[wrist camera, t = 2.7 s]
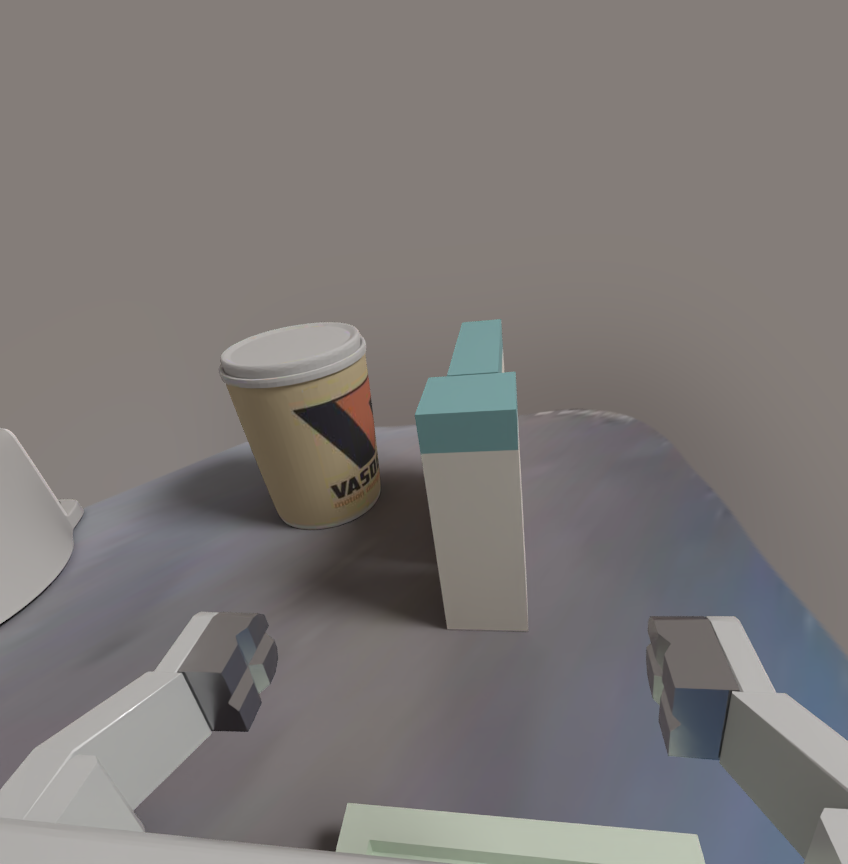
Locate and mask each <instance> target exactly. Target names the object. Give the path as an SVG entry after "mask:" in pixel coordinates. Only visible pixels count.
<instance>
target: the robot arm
mask: <svg viewBox="0 0 848 864" xmlns="http://www.w3.org/2000/svg"><path fill="white" fill-rule="evenodd" d="M83 513H84V510H83V508H82V507H81V505H80V504H79V502H78V501H77V500H74V499H57V498H56V497H55V495H54V493H53V492H52V491H51V489H50V487H49V486H48V484H47V483H46V481H45V480H44V478H43V477H42V475H41V474H40V472H39V471H38V469H37V468H36V466H35V465H34V463H33V462H32V460H31V458H30V457H29V455H28V454H27V452H26V451H25V450H24V448H23V446H22V445H21V443H20V442H19V441H18V440H17V438H16V436H15V435H14V434H13V433H12V432H11V431H9V430H8V429H2V428H0V624H1V623H2V622H4V621H5V620H7V619H8V618H10V617H11V616H12V615H14V614H15V613H17V612H18V611H19V610H21V609H22V608H23V607H24V606H26V605H27V604H28V603H29V602H31V601H32V600H33V599H34V598H35V597H37V596H38V595H39V594H40V593H41V592H42V591H43V590H44V589H45V588H46V587H47V586H48V585H49V584H50V583H51V582H52V581H53V580H54V579H55V578H56V577H57V576H58V574H59V573H60V572H61V571H62V569H63V568H64V566H65V565H66V563H67V562H68V560H69V558H70V556H71V553H72V550H73V545H74V542H73V529H74V527H75V526H76V525H77V523H78V522H79V520H80V519H81V517H82V515H83ZM268 626H269V625H268V622H267V620H266V618H265V615H263V614H258V613H231V612H199V613H198V614H196V615H194V616H193V617H192V619H191V620H190V621H189V623H188V624H187V626H186V627H185V629H184V630H183V631H182V633H181V634H180V636H179V637H178V638H177V640H176V641H175V643H174V644H173V646H172V647H171V648H170V650H169V651H168V653H167V654H166V655H165V657H164V658H163V660H162V661H161V662H160V664H159V665H158V667H157V668H156V670H155V671H154V672H147V673H145V674H144V675H142V676H141V677H139V678H138V679H136V680H135V681H133V682H132V683H130V684H129V685H127V686H126V687H124V688H123V689H122V690H120V691H119V692H117V693H116V694H114V695H113V696H111V697H110V698H108V699H107V700H105V701H104V702H102V703H101V704H99V705H98V706H96V707H95V708H93V709H92V710H91V711H89V712H88V713H86V714H85V715H83V716H82V717H80V718H79V719H77V720H76V721H74V722H73V723H71V724H70V725H68V726H67V727H65V728H64V729H62V730H61V731H60V732H58V733H57V734H55V735H54V736H52V737H51V738H49V739H48V740H46V741H45V742H43V743H42V744H40V745H39V746H37V747H36V748H34V749H33V751H32V752H31V753H30V754H29V755H28V757H27V758H26V759H25V760H24V762H23V763H22V764H21V765H20V766H19V768H18V769H17V770H16V771H15V773H14V774H13V775H12V776H11V777H10V779H9V780H8V781H7V782H6V784H5V785H4V786H3V787H2V788H1V790H0V864H451V863H441V862H432V861H422V860H412V859H402V858H392V857H383V856H373V855H363V854H353V853H343V852H333V851H323V850H314V849H304V848H294V847H284V846H274V845H265V844H255V843H245V842H235V841H225V840H216V839H206V838H196V837H186V836H177V835H167V834H157V833H147V832H145V829H144V826H143V824H142V823H141V822H140V820H139V819H138V817H137V816H136V814H135V813H134V811H133V810H134V809H135V808H136V807H137V806H138V805H139V804H140V803H141V802H142V801H143V800H144V799H145V798H147V797H148V796H149V795H150V794H151V793H152V792H153V791H154V790H155V789H156V788H157V787H158V786H159V785H160V784H161V783H162V782H163V781H164V780H165V779H166V778H167V777H168V776H169V775H170V774H171V773H172V772H173V771H174V770H175V769H176V768H177V767H178V766H179V765H180V764H181V763H182V762H183V761H184V760H185V759H186V758H187V757H188V756H189V755H190V754H191V753H192V752H193V751H194V750H195V749H196V748H197V747H198V746H199V745H200V744H201V743H202V742H203V741H204V740H205V739H207V738H208V737H209V736H210V735H211V734H212V732H211V731H236V732H248V731H249V729H250V727H251V725H252V723H253V721H254V718H255V716H256V714H257V712H258V710H259V708H260V706H261V703H262V702H261V698H260V692H262V691H263V690H264V689H265V688H266V687H268V686H269V685H270V684H271V682H272V679H273V677H274V675H275V672H276V667H277V661H278V653H277V646H276V644H275V641H274V639H272V638H271V637H270V636H269V635H268V634H266V633H265V632H266V630H267V628H268ZM648 634H649V637H650V641H651V644H650V645H648V646H647V649H646V664H647V675H648V680H649V686H650V690H651V694H652V698H653V699H654V700H655V701H656V702H657V703H658V704H659V705H660V709H659V724H660V728H661V731H662V735H663V738H664V742H665V746H666V749H667V753H668V756H676V757H688V758H700V759H712V760H720V762H719V763H720V764H721V765H722V766H723V767H724V769H725V770H726V771H727V772H728V773H729V774H730V775H731V776H732V778H733V779H734V780H735V781H736V782H737V783H738V784H739V786H740V787H741V788H742V789H743V790H744V791H745V792H746V794H747V795H748V796H749V797H750V798H751V799H752V800H753V801H754V803H755V804H756V805H757V806H758V807H759V808H760V809H761V811H762V812H763V813H764V814H765V815H766V816H767V817H768V818H769V820H770V821H771V822H772V823H773V824H774V825H775V826H776V828H777V829H778V830H779V831H780V832H781V833H782V834H783V835H784V837H785V838H786V839H787V840H788V841H789V842H790V843H791V845H792V846H793V847H794V848H795V849H796V850H797V851H798V853H799V854H800V855H801V856H802V857H803V858H804V859H805V862H804V864H848V741H847V740H846V739H844V738H843V737H842V736H840V735H839V734H838V733H837V732H835V731H834V730H833V729H831V728H830V727H829V726H827V725H826V724H825V723H824V722H822V721H821V720H820V719H818V718H817V717H816V716H814V715H813V714H812V713H811V712H809V711H808V710H807V709H805V708H804V707H803V706H801V705H800V704H799V703H797V702H796V701H795V700H794V699H792V698H791V697H790V696H788V695H787V694H786V693H776V691H775V689H774V687H773V685H772V683H771V682H770V680H769V678H768V676H767V674H766V672H765V670H764V668H763V666H762V664H761V662H760V660H759V658H758V656H757V654H756V652H755V650H754V648H753V646H752V644H751V642H750V640H749V638H748V636H747V634H746V632H745V630H744V628H743V627H742V625H741V623H740V621H739V620H738V619H737V618H736V617H735V616H706V617H704V616H650V618H649V621H648Z"/></svg>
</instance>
